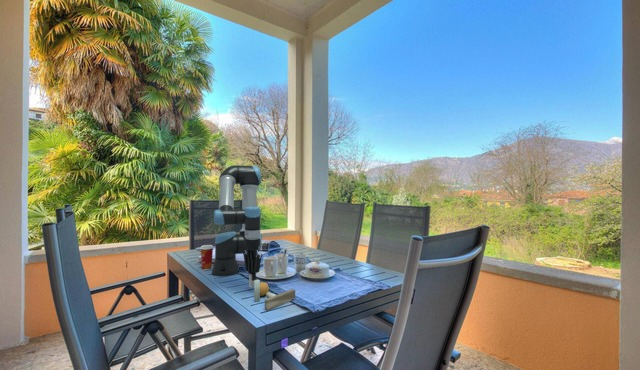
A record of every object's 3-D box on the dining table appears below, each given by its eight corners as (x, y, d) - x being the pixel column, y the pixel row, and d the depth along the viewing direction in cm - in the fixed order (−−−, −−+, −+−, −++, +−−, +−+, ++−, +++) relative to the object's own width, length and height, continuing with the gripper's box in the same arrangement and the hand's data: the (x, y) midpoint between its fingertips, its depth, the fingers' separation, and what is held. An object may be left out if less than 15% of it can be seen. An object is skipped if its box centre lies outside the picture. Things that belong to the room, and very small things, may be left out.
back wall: (264, 309, 117) (264, 299, 117) (292, 297, 129) (292, 289, 129) (267, 310, 116) (267, 300, 116) (295, 298, 128) (295, 290, 128)
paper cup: (199, 267, 177) (200, 245, 177) (213, 266, 180) (213, 244, 180) (199, 270, 170) (200, 247, 170) (213, 269, 173) (213, 246, 173)
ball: (262, 291, 127) (259, 300, 130) (272, 286, 131) (269, 295, 134) (254, 282, 130) (252, 291, 133) (265, 277, 134) (262, 286, 137)
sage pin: (253, 300, 125) (253, 280, 125) (257, 299, 127) (257, 279, 127) (256, 302, 124) (256, 281, 124) (260, 300, 126) (260, 280, 126)
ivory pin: (265, 293, 130) (278, 298, 124) (269, 291, 131) (282, 296, 125) (266, 298, 130) (278, 303, 124) (270, 296, 132) (283, 301, 126)
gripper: (238, 237, 140) (237, 285, 139) (254, 241, 131) (254, 291, 131) (250, 235, 145) (250, 281, 145) (267, 238, 137) (266, 287, 137)
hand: (252, 286), depth 138 cm, fingers closed
